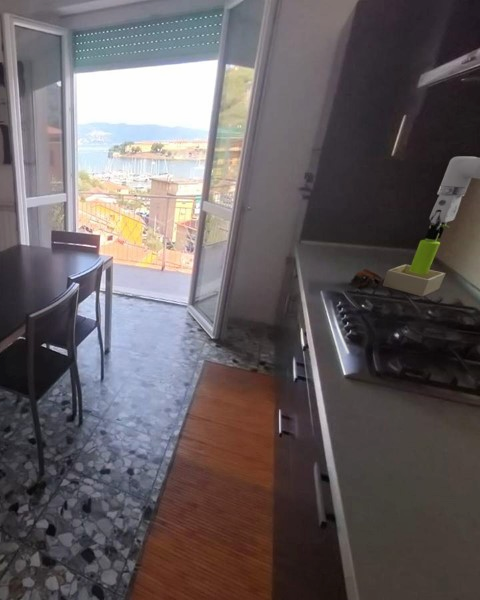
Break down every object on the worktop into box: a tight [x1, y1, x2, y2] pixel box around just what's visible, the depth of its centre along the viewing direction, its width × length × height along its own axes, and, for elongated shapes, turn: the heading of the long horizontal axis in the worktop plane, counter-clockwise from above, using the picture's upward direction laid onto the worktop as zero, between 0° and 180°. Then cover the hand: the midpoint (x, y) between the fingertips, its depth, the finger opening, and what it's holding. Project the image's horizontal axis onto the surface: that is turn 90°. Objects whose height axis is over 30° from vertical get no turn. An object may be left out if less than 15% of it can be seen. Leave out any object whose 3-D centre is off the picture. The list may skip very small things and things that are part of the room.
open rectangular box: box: [382, 263, 446, 297], centre depth 149 cm, size 14×16×7 cm
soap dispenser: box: [409, 224, 451, 274], centre depth 145 cm, size 6×7×20 cm
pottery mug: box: [349, 268, 383, 289], centre depth 150 cm, size 12×10×8 cm
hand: (432, 237), depth 143 cm, fingers closed on soap dispenser, 3 cm apart
